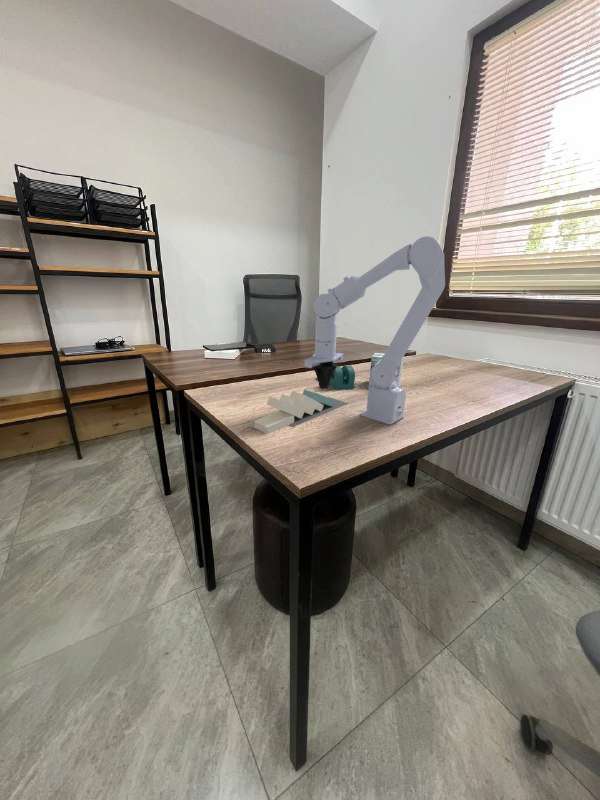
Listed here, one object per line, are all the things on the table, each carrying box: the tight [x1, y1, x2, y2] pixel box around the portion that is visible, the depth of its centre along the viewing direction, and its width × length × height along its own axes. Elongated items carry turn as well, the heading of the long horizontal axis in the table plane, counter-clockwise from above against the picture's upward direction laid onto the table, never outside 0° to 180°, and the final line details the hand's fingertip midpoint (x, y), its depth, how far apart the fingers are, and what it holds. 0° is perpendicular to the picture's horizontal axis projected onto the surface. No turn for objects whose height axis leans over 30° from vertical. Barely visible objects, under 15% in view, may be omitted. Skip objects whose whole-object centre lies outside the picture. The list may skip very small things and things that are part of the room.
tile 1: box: [302, 389, 335, 407], centre depth 88 cm, size 5×2×9 cm
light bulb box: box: [368, 352, 405, 388], centre depth 111 cm, size 11×7×11 cm, turn 67°
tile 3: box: [279, 393, 315, 415], centre depth 82 cm, size 5×2×9 cm
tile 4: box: [266, 396, 304, 419], centre depth 79 cm, size 5×2×9 cm
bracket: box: [329, 364, 356, 391], centre depth 113 cm, size 18×7×8 cm, turn 18°
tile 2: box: [289, 390, 324, 412], centre depth 84 cm, size 5×2×9 cm
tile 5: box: [253, 410, 294, 435], centre depth 77 cm, size 5×2×9 cm
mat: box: [288, 396, 349, 428], centre depth 87 cm, size 8×24×1 cm, turn 136°
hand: (323, 388), depth 88 cm, fingers closed
